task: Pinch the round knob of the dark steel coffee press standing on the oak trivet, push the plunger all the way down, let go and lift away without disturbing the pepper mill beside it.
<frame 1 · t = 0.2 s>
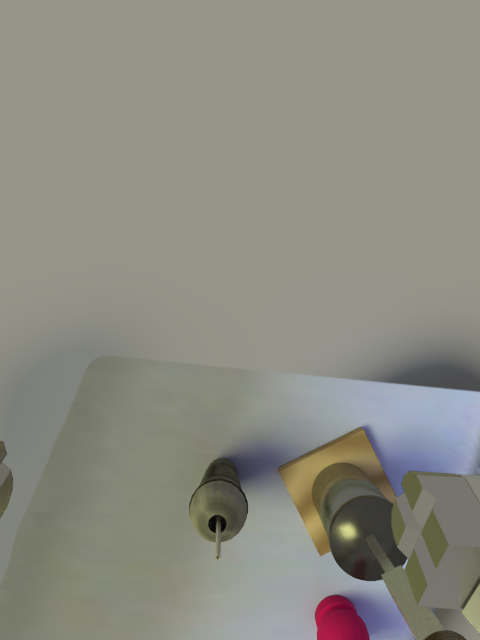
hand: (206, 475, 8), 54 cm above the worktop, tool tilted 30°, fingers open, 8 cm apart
trivet: (339, 488, 63), on the worktop
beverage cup: (221, 473, 63), on the worktop
plunger: (423, 625, 35), point 28 cm above the worktop, slide at 7.0 cm
pepper mill: (334, 614, 63), on the worktop
press: (370, 541, 50), on the trivet, point 13 cm above the worktop
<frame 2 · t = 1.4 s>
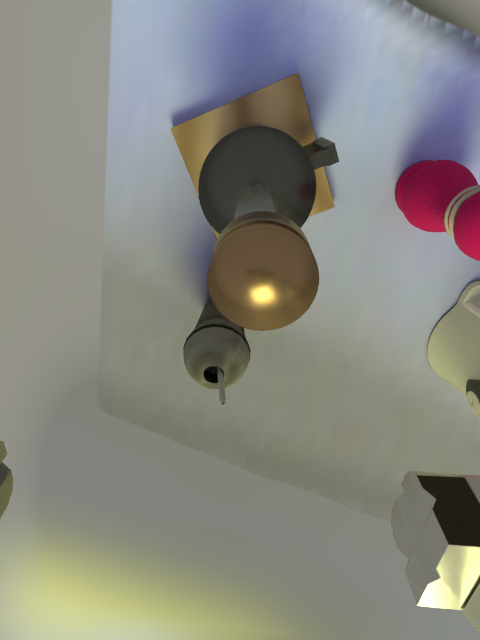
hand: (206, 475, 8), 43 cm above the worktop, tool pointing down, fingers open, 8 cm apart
trivet: (255, 167, 46), on the worktop
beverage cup: (223, 306, 55), on the worktop
plunger: (260, 238, 22), point 28 cm above the worktop, slide at 7.0 cm
pepper mill: (421, 188, 47), on the worktop
press: (270, 181, 35), on the trivet, point 13 cm above the worktop
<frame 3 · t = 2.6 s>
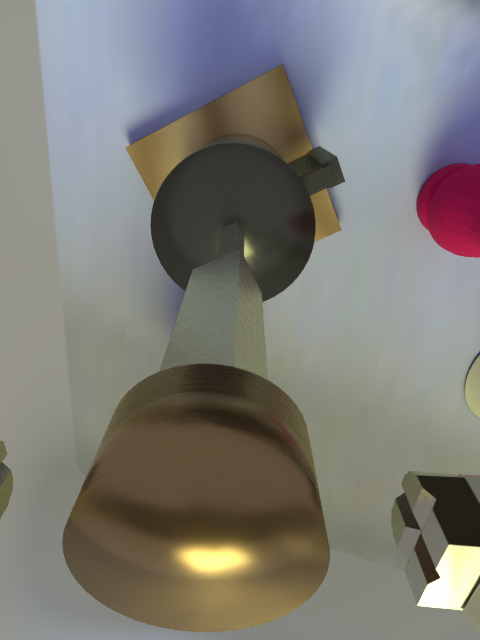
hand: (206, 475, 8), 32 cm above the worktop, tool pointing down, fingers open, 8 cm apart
trivet: (238, 187, 37), on the worktop
plunger: (218, 360, 12), point 28 cm above the worktop, slide at 7.0 cm
pepper mill: (450, 199, 37), on the worktop
press: (252, 216, 25), on the trivet, point 13 cm above the worktop
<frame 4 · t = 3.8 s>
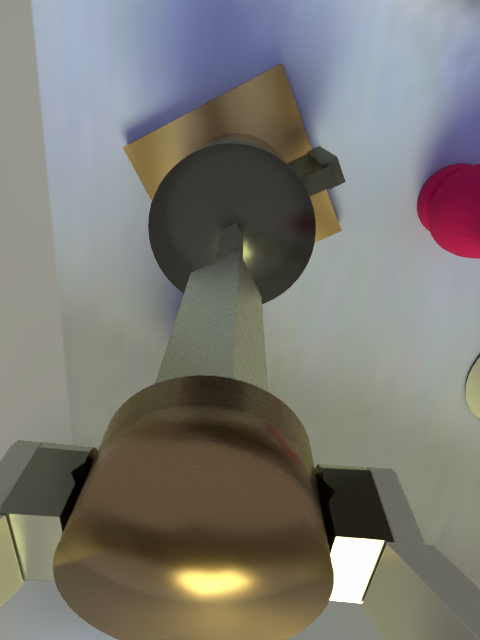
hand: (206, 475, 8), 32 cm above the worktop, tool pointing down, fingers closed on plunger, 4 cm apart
trivet: (237, 187, 37), on the worktop
plunger: (217, 367, 12), point 28 cm above the worktop, slide at 7.0 cm, touching gripper
pepper mill: (451, 199, 37), on the worktop
press: (251, 217, 25), on the trivet, point 13 cm above the worktop
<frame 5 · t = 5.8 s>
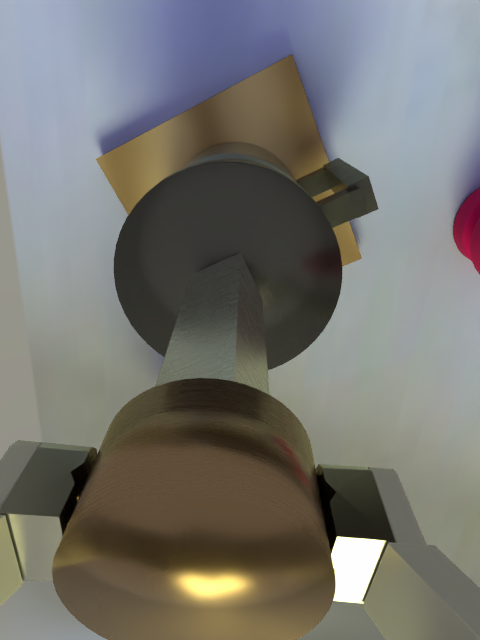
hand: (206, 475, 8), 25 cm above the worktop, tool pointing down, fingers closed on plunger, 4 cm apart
trivet: (236, 206, 30), on the worktop
plunger: (218, 369, 12), point 21 cm above the worktop, slide at -0.1 cm, touching gripper
press: (254, 257, 19), on the trivet, point 13 cm above the worktop
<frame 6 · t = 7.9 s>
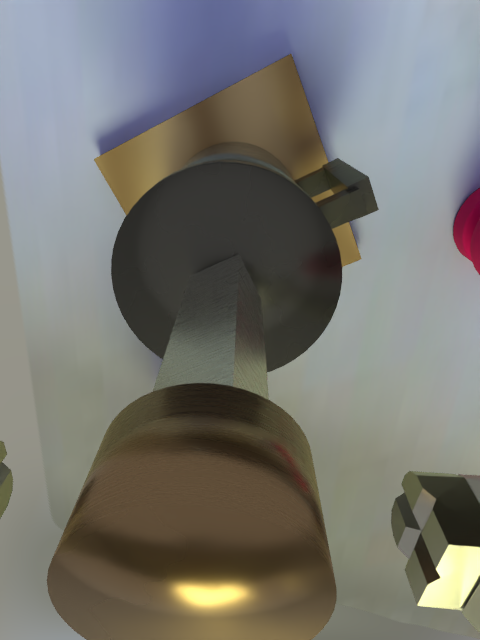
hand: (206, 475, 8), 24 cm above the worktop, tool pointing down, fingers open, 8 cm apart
trivet: (234, 206, 30), on the worktop
plunger: (217, 372, 12), point 21 cm above the worktop, slide at -0.1 cm
press: (253, 258, 19), on the trivet, point 13 cm above the worktop
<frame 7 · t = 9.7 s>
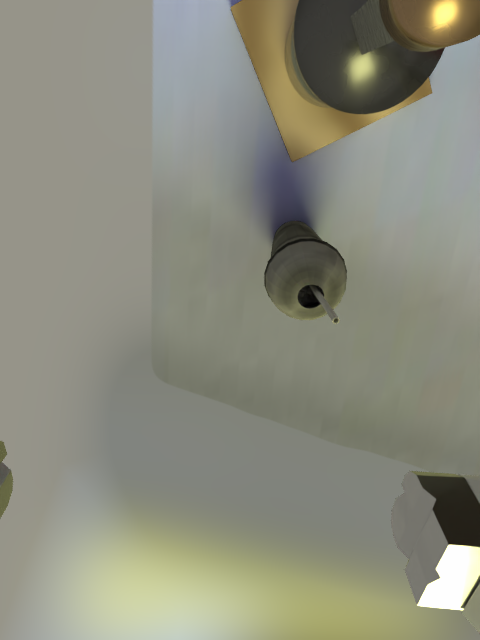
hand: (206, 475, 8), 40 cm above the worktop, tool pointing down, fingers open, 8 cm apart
trivet: (332, 53, 38), on the worktop
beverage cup: (293, 240, 47), on the worktop
plunger: (405, 6, 20), point 21 cm above the worktop, slide at -0.1 cm
press: (383, 21, 27), on the trivet, point 13 cm above the worktop
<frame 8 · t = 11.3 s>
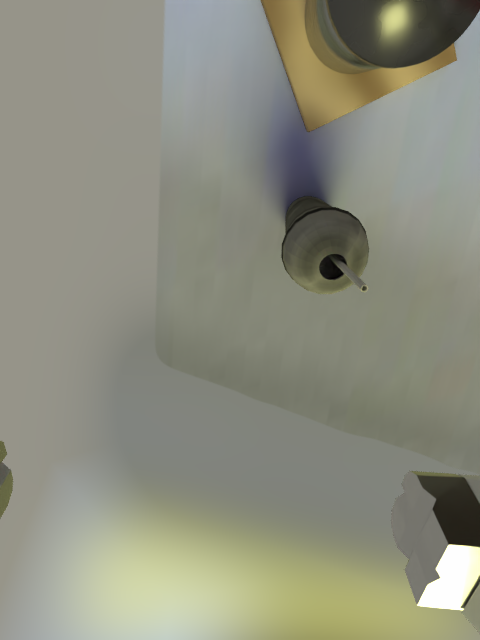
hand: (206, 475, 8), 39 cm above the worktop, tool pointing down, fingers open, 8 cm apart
trivet: (353, 16, 37), on the worktop
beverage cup: (306, 216, 45), on the worktop
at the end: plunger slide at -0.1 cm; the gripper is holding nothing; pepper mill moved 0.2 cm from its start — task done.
